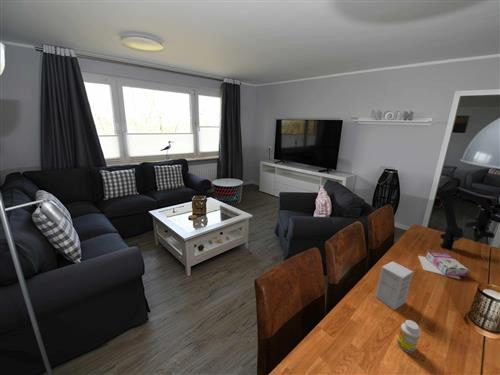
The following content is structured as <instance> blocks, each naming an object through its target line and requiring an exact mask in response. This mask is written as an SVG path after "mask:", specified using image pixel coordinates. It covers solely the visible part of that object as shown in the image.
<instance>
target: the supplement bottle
mask: <svg viewBox="0 0 500 375" xmlns="http://www.w3.org/2000/svg"><path fill="white" fill-rule="evenodd" d="M400 325H401V326H400V328H399V333H398V336H397V341H396V342H397V346H399V348H400V349H401V350H403V351H404V352H406V353H411V354H412V353H414V352H415V351H416V348H417V345H418V341H419V339H420V334H421V332H420V330H419V329H420V328H419V327H420V326H419V325H418V323H416V322H415V321H414V320H411V319H407V320H405V322H404V323H402V324H400Z"/></svg>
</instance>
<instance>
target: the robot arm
mask: <svg viewBox="0 0 500 375" xmlns="http://www.w3.org/2000/svg"><path fill="white" fill-rule="evenodd" d="M458 196H462V197H465V198H466V199H469V200H472V201H474V202H476V203H477V204H478V205H477V206H475V208H477V209H479V210H478V213H477V216H474V218H469V219H468V218H467V219H462V220H461V221H462V226H464V228H470V229H471V230H472V231H473V241H474V242H475V243H477V242H479V241H480V240H481V239H483V238H484V237H485V238H491V239H494V238H495V235H496V234H494V233H493V231H491V230H490V227H489V225H490V224H492V222H495V223H498V224H500V199H499V198H498V197H496V196H491V195H483V194H480V193H477V192H474V191H471V190H468V189H466V188H463V187H460V186H459V187H453V188H451V189H447V190H444V191H443V190H441V191H439V193H438V194H437V198H438V200H439V202H440V203H441V204H442V207H443V211H444V212H443V213H444V217H445V221H446V228H445V231H444V233H442V234H440V239H442V241H441V243H439V246H440V247H441V249H445V250H449V251H455V249H454V244H455V241H456V242H458V241H459V240H461V239H462V238H463V237H464V231H463V228H462V227H459V226H458V223H457V218H456V215H455V214H456V213H455V209H454V208H455V207H454V202H455V200H456V199H455V198H456V197H458Z"/></svg>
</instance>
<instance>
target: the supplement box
mask: <svg viewBox="0 0 500 375" xmlns="http://www.w3.org/2000/svg"><path fill="white" fill-rule="evenodd" d="M413 275H414V271H413V270H410V269H408V268H407V267H404V266H403V265H401V264H399V263H397V262H395V261H390V262H388V263H386V264H384V265H383V266H382V265H381V269H380V273H379V276H378V281H377V287H376V290H375V294H374V295H375V296H374V297H375V298H376V299H378V301H380V302H382V303H383V304H385V305H387V306H388V307H390V308H391V309H392V310H394V311H396V310H397V309H399V308H400V307H401V306H403V305H404V304H405V303H406V301H407V298H408V294H409V289H410V285H411V281H412V278H413Z"/></svg>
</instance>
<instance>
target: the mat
mask: <svg viewBox="0 0 500 375" xmlns="http://www.w3.org/2000/svg"><path fill="white" fill-rule="evenodd" d="M417 257H418V259H419V261H420V264H421V266H422V269H423V270H424V271H426V272H428V273H429V272H430V273H433V274H438V275H441V276H445V277H450V278H453V279H457V280H461V277H460V276H455V275H445V274H444V273H443V272H441V271H440V270H439V269H438V268H437V267H436V266H435V265H433V264H432V263H431V262H430V261H429V260H428V259H427V258H426V256H422V255H418V256H417Z"/></svg>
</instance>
